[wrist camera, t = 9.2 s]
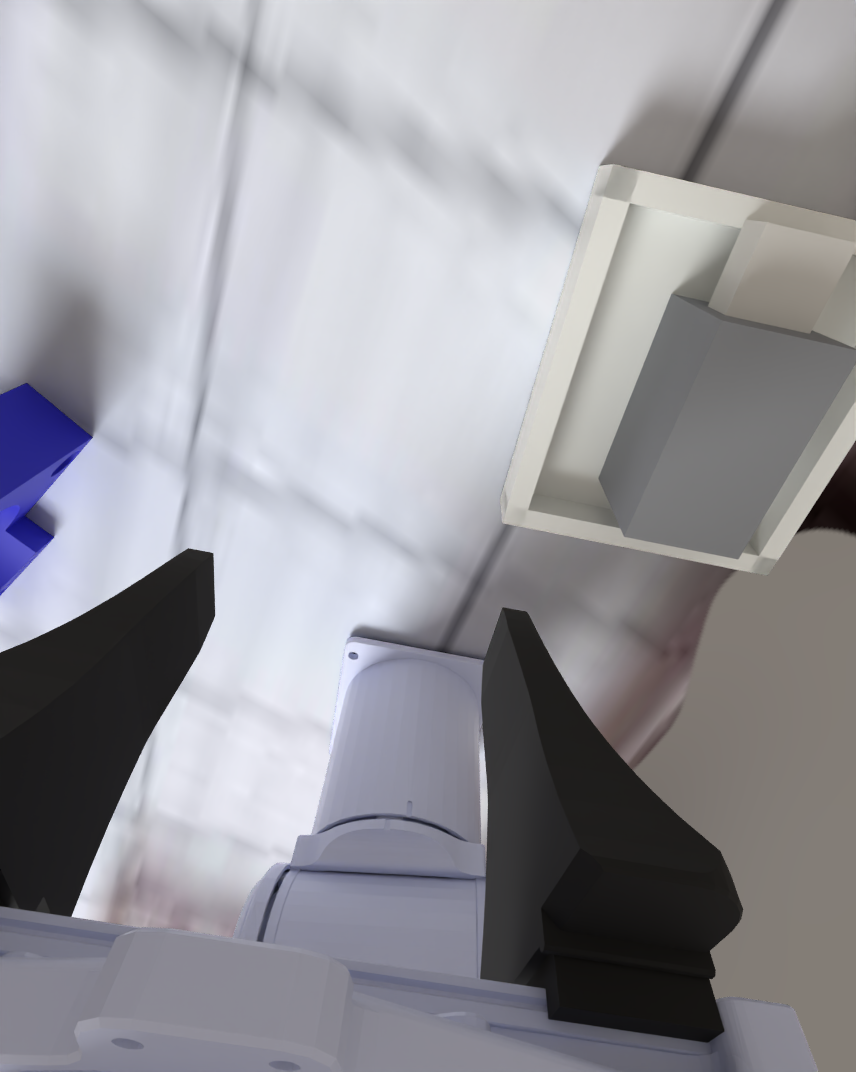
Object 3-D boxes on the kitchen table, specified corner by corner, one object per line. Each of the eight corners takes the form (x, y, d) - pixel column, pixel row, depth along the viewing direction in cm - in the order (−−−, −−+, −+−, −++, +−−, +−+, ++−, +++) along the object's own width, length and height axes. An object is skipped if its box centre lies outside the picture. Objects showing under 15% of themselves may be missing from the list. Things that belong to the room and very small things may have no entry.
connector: (693, 497, 23) (738, 559, 19) (598, 478, 22) (623, 536, 19) (825, 240, 18) (921, 254, 14) (703, 212, 17) (767, 219, 14)
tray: (746, 548, 24) (767, 575, 23) (499, 499, 24) (502, 523, 22) (931, 243, 18) (979, 248, 16) (599, 165, 17) (613, 163, 16)
